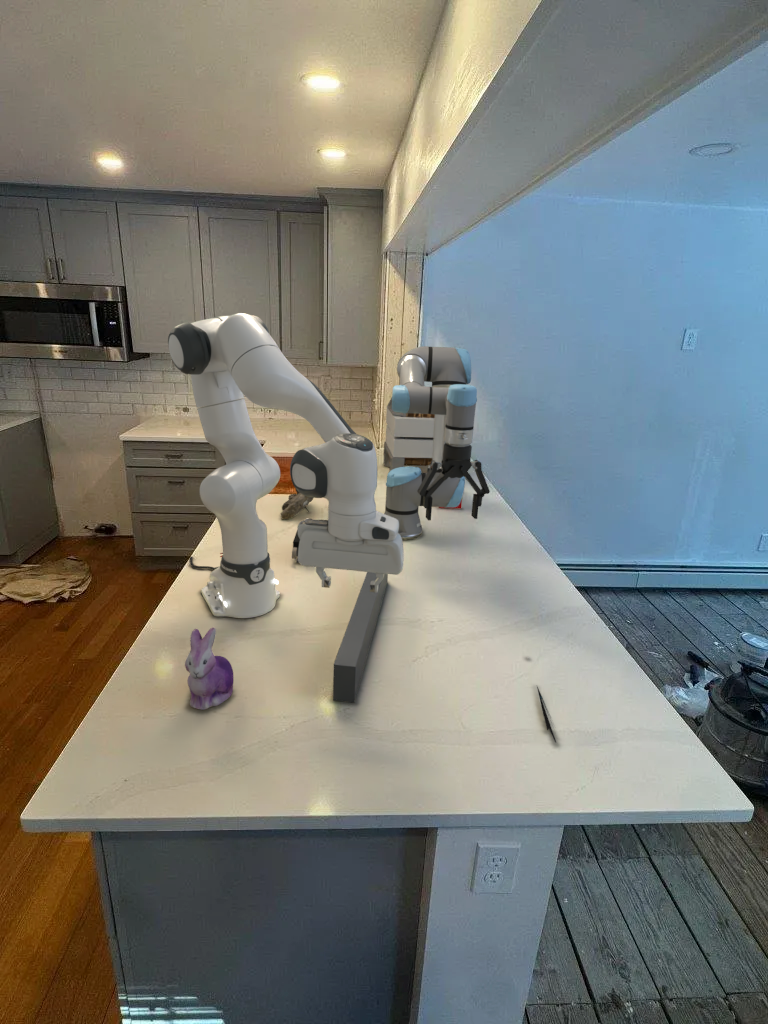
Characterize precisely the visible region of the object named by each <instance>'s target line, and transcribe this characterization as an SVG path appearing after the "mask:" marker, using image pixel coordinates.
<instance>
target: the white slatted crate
mask: <svg viewBox="0 0 768 1024" xmlns="http://www.w3.org/2000/svg"><path fill="white" fill-rule="evenodd" d="M385 414H386V415H385V423H386V428H385V438H384V442H383V466H384V467H388V468H389V472H390V471H391V470H393V469H395V468H399V467H405V466H413V467H428V466H429V465H430V464H431V461H432V454H433V436H434V418H435V414H415V413H405V414H404V413H400V412H394V411H393V410H392V397H391V398H390V400H389V402H388V404H387V405H386V413H385Z"/></svg>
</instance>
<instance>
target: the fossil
mask: <svg viewBox="0 0 768 1024" xmlns="http://www.w3.org/2000/svg"><path fill="white" fill-rule="evenodd" d="M295 492H296V493H291V494H289V495H288V500H286V501H285V502H283V504H282V506H281V510H282V511H281V512H280V518H281V519H282V520H289V519H292V518H294V517H296V516H297V515H298V514H300V512H302V511H303V510H304V509H305V510H306V511H307V513H309V512H310V510H309V509H308V507H307V506H308V505H309V504H310V503H311V502H312V501H313V500H314V498H312V497H307V496H304V495H303V494H301V493H300V492H299V491H298V490H297V489H296V488H295Z"/></svg>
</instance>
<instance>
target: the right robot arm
mask: <svg viewBox="0 0 768 1024" xmlns="http://www.w3.org/2000/svg"><path fill="white" fill-rule="evenodd" d="M471 360H472V359H471V355H470V352H469V350H468V349H466V348H461V347H456V346H453V347H452V346H451V347H450V346H426V345H423V346H422V345H421V346H418V347H415V348H412V349H410V350H408V351H407V352H405V353H404V354H403V355H402V356H401V357H400V358H399V360H398V361H397V365H396V372H397V373H396V374H397V376H398V378H399V382H398V383H399V384H397V385H394V386H393V387H392V393H391V398H392V410H393V411H394V412H400V413H404V414H405V413H415V414H435V418H434V436H433V454H432V461H431V464H430V465H428V466H426V472H422V469H421V468H420V467H419V466H407V465H405V466H404V467H399V468H395V469H393V470H391V471H390V470H389V471H388V473H387V475H386V482H385V486H386V488H385V489H386V490H385V504H384V505H385V507H384V508H385V509H384V513H383V514H385V515H388V516H390V517H393V518H395V519H397V520H398V521H399V531H398V533H399V534H400V536H401V538H402V541H410V540H415V539H418V538H420V537H421V536H422V535H423V525H422V523H421V518H420V515H419V507H423V508H424V509H425V519H426V520H427V521H429V522H430V521H432V510H433V508H439V507H444V508H443V509H448V508H447V507H457V506H458V505H459V504H460V502H461V499H462V500H463V495H464V491H465V484H466V481H467V482H468V483H469V486H470V487H471V488H472V489H473V491H474V492H475V493H473V496H472V504H471V517H472V518H473V519H474V520H477V519H478V516H479V515H478V514H479V507H482V503H483V498H484V497H485V495H489V494H490V492H491V491H490V488H489V485H488V483H487V481H486V478H485V475H484V473H483V470H482V462H481V461H479V460H478V459H474V461H471V459H472V450H473V446H472V444H473V440H474V439H473V438H474V425H475V417H476V416H475V415H476V407H477V402H478V397H477V395H478V389H477V387H476V386H475V385H471V384H470V383H471V381H472V361H471ZM425 382H427V383H431V386H426V385H425ZM471 468H472V469H473V470H474V473H475V475H476V478H477V479H478V482H479V485H480V487H479V485H478V484H477V483H476V481H475V480H474V478H473V477H472V476H471V474H470V473H469V470H471Z"/></svg>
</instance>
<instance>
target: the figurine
mask: <svg viewBox="0 0 768 1024" xmlns="http://www.w3.org/2000/svg"><path fill="white" fill-rule="evenodd" d="M216 634H217V629H216V628H215V627H214V626H212V627H211V628H210V629H208V631H207V632H206V634H205V635H204V636H203V637H202V635H201V631H200V630H199V629H198V628H194V629H193V630H191V634H190V638H189V639H190V640H189V641H190V643H189V646H190V650H189V652H188V655H187V656H186V658H185V662H184V668H185V669H186V671H187V672H188V673H189V675H188V677H187V686H188V688H189V692H190V702H189V706H190V707H191V708H194V709H197V710H202V711H203V710H208V709H209V708H211V707H217V706H220V705H221V704H222V703H225V701H227V700H228V699H229V698H230V697H232V694H233V691H234V670H233V666H232V664H231V662H230V661H229V660H228V658H226V657H225V656H222V655H215V654H214V651H213V650H212V648H213V645H214V642H215V639H216Z"/></svg>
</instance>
